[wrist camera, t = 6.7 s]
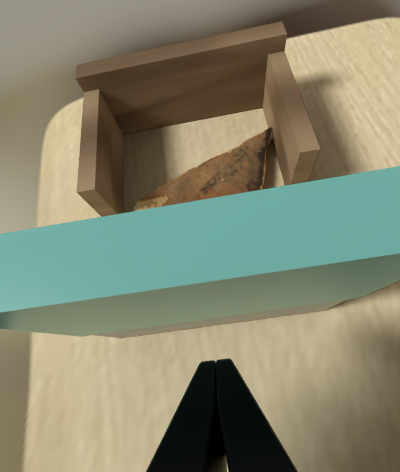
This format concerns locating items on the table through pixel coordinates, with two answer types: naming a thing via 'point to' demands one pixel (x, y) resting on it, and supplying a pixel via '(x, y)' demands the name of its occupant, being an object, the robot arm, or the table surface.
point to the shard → (216, 176)
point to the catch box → (189, 103)
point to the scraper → (206, 260)
